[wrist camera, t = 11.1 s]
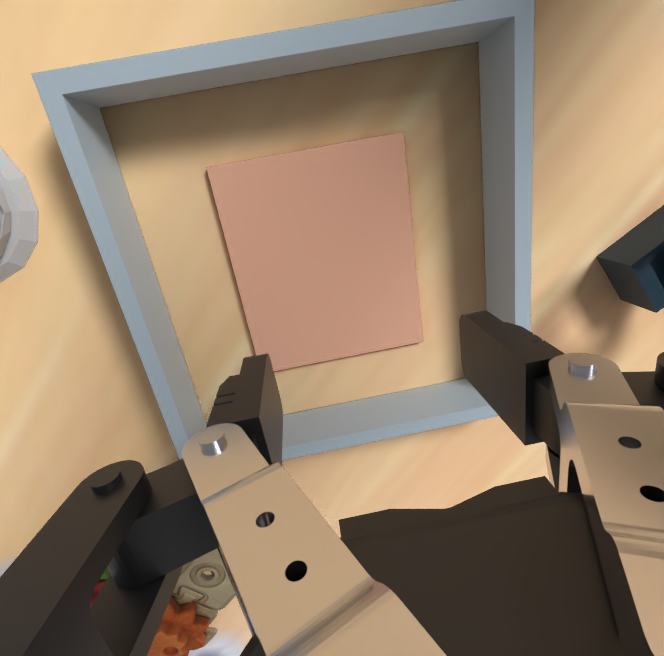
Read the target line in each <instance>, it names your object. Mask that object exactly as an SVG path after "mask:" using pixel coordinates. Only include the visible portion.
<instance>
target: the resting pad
mask: <svg viewBox="0 0 664 656" xmlns="http://www.w3.org/2000/svg"><path fill="white" fill-rule="evenodd" d="M206 168H207V172H208V176H209V180H210V183H211V187H212V191H213V195H214V198H215V202H216V206H217V210H218V214H219V217H220V221H221V225H222V229H223V232H224V236H225V240H226V244H227V247H228V251H229V255H230V259H231V263H232V266H233V270H234V274H235V278H236V281H237V285H238V289H239V293H240V296H241V300H242V304H243V308H244V312H245V315H246V319H247V323H248V327H249V330H250V334H251V338H252V342H253V345H254V349H255V353H256V355H261V354H266V353H268V354H269V357H270V360H271V363H272V367H273V371H278V370H283V369H288V368H293V367H298V366H303V365H308V364H313V363H318V362H323V361H328V360H333V359H338V358H343V357H348V356H353V355H358V354H363V353H368V352H373V351H378V350H384V349H389V348H394V347H399V346H404V345H409V344H414V343H419V342H423V334H422V323H421V313H420V302H419V291H418V281H417V270H416V260H415V249H414V238H413V228H412V217H411V206H410V196H409V185H408V174H407V164H406V153H405V143H404V132H399V133H394V134H388V135H383V136H377V137H372V138H366V139H360V140H355V141H349V142H344V143H338V144H333V145H327V146H322V147H316V148H311V149H305V150H300V151H294V152H289V153H283V154H278V155H272V156H267V157H261V158H256V159H250V160H244V161H239V162H233V163H228V164H222V165H217V166H211V167H206Z"/></svg>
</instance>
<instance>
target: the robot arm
mask: <svg viewBox="0 0 664 656" xmlns="http://www.w3.org/2000/svg"><path fill="white" fill-rule="evenodd" d="M460 342H461V360H462V367H463V371H464V374H465V376H466V378H467V380H468V381H469V382H470V383H471V384H472V386H473V387H474V388H475V389H476V390H477V391H478V392H479V394H480V395H481V396H482V397H483V398H484V399H485V400H486V402H487V403H488V404H489V405H490V406H491V407H492V408H493V410H494V411H495V412H496V413H497V414H498V415H499V416H500V417H501V419H502V420H503V421H504V422H505V423H506V424H507V425H508V427H509V428H510V429H511V430H512V431H513V432H514V433H515V435H516V436H517V437H518V438H519V439H520V440H521V441H522V442H523V444H524V445H530V444H535V443H539V442H545V443H546V463H547V469H548V474H549V480H550V482H549V480H548V479H547V478H546V477H545V476H543V477H538V478H534V479H529V480H524V481H519V482H515V483H510V484H505V485H501V486H496V487H493V488H491V489H489V490H487V491H485V492H483V493H481V494H478V495H476V496H474V497H472V498H470V499H468V500H466V501H464V502H462V503H460V504H457V505H455V506H453V507H451V508H447V509H388V510H383V511H378V512H374V513H369V514H364V515H360V516H355V517H350V518H345V519H341V520H339V525H340V532H341V538H339V537H338V535H337V534H336V533H335V532H334V530H333V529H332V528H331V527H330V525H329V524H328V523H327V522H326V520H325V519H324V518H323V517H322V515H321V514H320V513H319V512H318V510H317V509H316V508H315V507H314V505H313V504H312V503H311V502H310V500H309V499H308V498H307V497H306V495H305V494H304V493H303V492H302V490H301V489H300V488H299V487H298V485H297V484H296V483H295V482H294V480H293V479H292V478H291V476H290V475H289V474H288V473H287V471H286V470H285V469H284V468H283V466H282V440H283V411H282V404H281V399H280V395H279V391H278V387H277V383H276V379H275V375H274V371H273V367H272V363H271V360H270V357H269V354H268V353H266V354H261V355H256V356H251V357H246V358H244V359H243V363H242V367H241V371H240V375H235V376H230V377H228V378H227V379H226V380H225V382H224V383H223V384H222V385H221V386H220V387H219V390H218V393H217V396H216V397H217V398H216V399H215V402H214V406H213V408H212V411H211V414H210V417H209V420H208V423H207V426H206V428H205V429H203V430H201V431H199V432H197V433H196V434H194V435H193V436H192V437H191V438H190V439H188V440H187V442H186V443H185V444H184V446H183V448H182V452H181V454H182V457H183V458H182V459H181V460H179V461H177V462H175V463H173V464H171V465H168V466H166V467H163V468H161V469H158V470H156V471H153V472H151V473H149V474H146V473H145V471H144V468H143V466H142V465H141V463H139V462H137V461H132V460H126V461H120V462H116V463H113V464H110V465H108V466H105V467H103V468H101V469H99V470H97V471H96V472H94V473H93V474H91V475H90V476H88V477H87V478H86V479H85V480H83V481H82V482H81V483H80V484H79V485H78V486H77V487H76V489H75V490H74V491H73V492H72V493H71V495H70V496H69V497H68V498H67V499H66V500H65V502H64V503H63V504H62V505H61V506H60V507H59V509H58V510H57V511H56V512H55V513H54V515H53V516H52V517H51V518H50V519H49V520H48V522H47V523H46V524H45V525H44V526H43V528H42V529H41V530H40V531H39V532H38V533H37V535H36V536H35V537H34V538H33V539H32V541H31V542H30V543H29V544H28V545H27V546H26V548H25V549H24V550H23V551H22V552H21V554H20V555H19V556H18V557H17V558H16V559H15V561H14V562H13V563H12V564H11V565H10V567H9V568H8V569H7V570H6V571H5V572H4V574H3V575H2V576H1V577H0V656H147V654H148V652H149V649H150V647H151V645H152V642H153V640H154V637H155V635H156V633H157V630H158V628H159V625H160V623H161V620H162V618H163V616H164V613H165V611H166V608H167V606H168V603H169V601H170V599H171V596H172V594H173V591H174V589H175V586H176V584H177V582H178V579H179V577H180V574H181V571H182V567H183V565H185V564H187V563H189V562H191V561H193V560H195V559H197V558H199V557H201V556H203V555H205V554H207V553H209V552H211V551H213V550H215V549H217V550H218V552H219V554H220V557H221V559H222V562H223V564H224V567H225V569H226V572H227V574H228V577H229V579H230V582H231V584H232V586H233V589H234V591H235V594H236V596H237V599H238V601H239V604H240V606H241V609H242V611H243V614H244V616H245V619H246V621H247V624H248V626H249V629H250V632H251V634H252V638H251V639H250V641H249V643H248V644H247V646H246V647H245V649H244V650H243V652H242V653H241V655H240V656H664V352H663V353H661V354H659V356H658V357H657V363H656V370H655V371H652V372H621V371H620V369H619V367H618V366H617V365H616V364H615V363H614V362H612V361H611V360H609V359H607V358H604V357H601V356H597V355H593V354H586V353H569V354H564V353H563V352H561V351H560V350H558V349H557V348H555V347H553V346H552V345H550V344H549V343H547V342H546V341H542V339H541V338H539V337H538V336H536V335H533V333H532V332H530V331H528V330H527V329H525V328H524V327H522V326H519V325H515V324H512V323H508V322H503V321H501V320H500V319H499V318H497V317H496V316H494V315H493V314H491V313H490V312H488V311H481V312H476V313H471V314H465V315H462V316H461V317H460ZM106 568H108V570H109V572H110V575H109V576H108V578H107V580H106V581H105V583H104V585H103V587H102V588H101V590H100V592H99V593H98V595H97V597H96V598H95V600H94V602H93V604H92V605H91V607H90V603H91V598H92V594H93V591H94V589H95V587H96V585H97V583H98V581H99V580H100V578H101V576H102V575H103V573H104V571H105V570H106Z"/></svg>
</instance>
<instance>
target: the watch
mask: <svg viewBox="0 0 664 656" xmlns="http://www.w3.org/2000/svg"><path fill="white" fill-rule="evenodd" d="M597 258H598V260H599V262H600V264H601V265H602V267H603V269H604V271H605V272H606V274H607V276H608V278H609V279H610V281H611V283H612V285H613V287H614V288H615V290H616V292H617V294H618V295H619V297H620V299H621V300H623V301H626V302H629V303H631V304H634V305H637V306H639V307H642V308H645V309H648V310H650V311H653V312H656V313H657V312H658V311H659V310H661V309H662V308H664V205H663V206H662V207H661V208H659V209H658V210H657V211H656V212H654V213H653V214H652V215H650V216H649V217H648V218H646V219H645V220H644V221H642V222H641V223H640V224H639V225H637V226H636V227H635V228H633V229H632V230H631V231H629V232H628V233H627V234H625V235H624V236H623V237H622V238H620V239H619V240H618V241H616V242H615V243H614V244H612V245H611V246H610V247H608V248H607V249H606V250H605V251H603V252H602V253H601V254H599V255H598V256H597Z"/></svg>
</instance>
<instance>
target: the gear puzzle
mask: <svg viewBox="0 0 664 656" xmlns="http://www.w3.org/2000/svg"><path fill="white" fill-rule="evenodd" d="M203 571H212V572H213V574H211V575H206V574H204V573H203ZM109 575H110V572H109V570H108V568H106V570H105V571H104V573H103V575H102V576H101V578H100V580H99V581H98V583H97V585H96V587H95V589H94V591H93V594H92V598H91V603H90V607H91V605H92V604H93V602H94V600H95V598H96V597H97V595H98V593H99V592H100V590H101V588H102V587H103V585H104V583H105V581H106V580H107V578H108V576H109ZM234 596H236V594H235V591H234V589H233V586H232V584H231V582H230V579H229V577H228V574H227V572H226V569H225V567H224V564H223V562H222V559H221V557H220V554H219V552H218V550H217V549H215V550H213V551H211V552H209V553H207V554H205V555H203V556H201V557H199V558H197V559H195V560H193V561H191V562H189V563H187V564H185V565H183V567H182V571H181V574H180V577H179V579H178V582H177V584H176V586H175V589H174V591H173V594H172V596H171V599H170V601H169V603H168V606H167V608H166V611H165V613H164V616H163V618H162V620H161V623H160V625H159V628H158V630H157V633H156V635H155V637H154V640H153V642H152V645H151V647H150V649H149V652H148V654H147V656H188V654H189V650H195V649H198V648H201V647H203V646H205V645H206V644H207V643H208V642H209V641H210V640H211V639H212V638H213V637H214V635H215V634H216V632H217V629H216V628H211V627H208V626H209V624H210V623H211V622H212V621H213V620H214V619H215V617H216V616H217V613H218V610H221V609H223V608H224V607H225V606H226V605H227V604H228V603H229V602H230V601H231V600H232V599H233V598H234Z"/></svg>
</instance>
